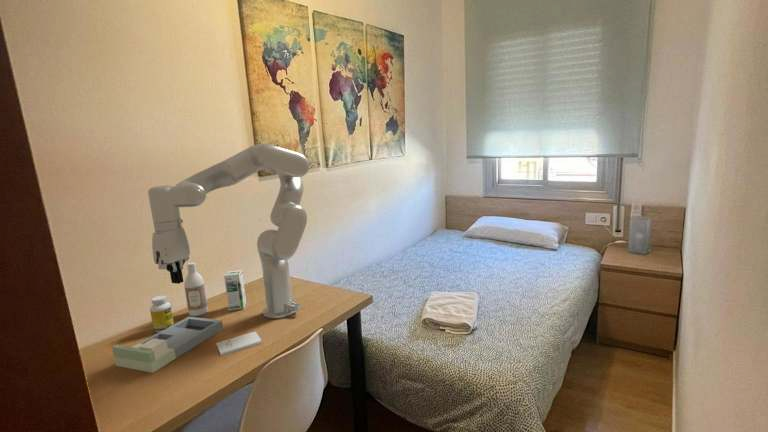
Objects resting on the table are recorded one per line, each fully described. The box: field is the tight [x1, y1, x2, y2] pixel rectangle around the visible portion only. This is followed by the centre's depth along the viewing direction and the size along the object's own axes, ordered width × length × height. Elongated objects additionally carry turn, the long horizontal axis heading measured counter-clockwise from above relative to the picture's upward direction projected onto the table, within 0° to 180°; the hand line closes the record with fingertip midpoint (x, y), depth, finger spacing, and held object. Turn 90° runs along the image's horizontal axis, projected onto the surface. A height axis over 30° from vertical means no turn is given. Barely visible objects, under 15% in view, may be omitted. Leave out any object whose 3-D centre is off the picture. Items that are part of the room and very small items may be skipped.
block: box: [139, 338, 168, 359], centre depth 117 cm, size 5×5×4 cm
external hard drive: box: [215, 331, 262, 357], centre depth 127 cm, size 2×8×12 cm
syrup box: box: [223, 269, 247, 312], centre depth 156 cm, size 6×6×14 cm
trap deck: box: [111, 316, 224, 374], centre depth 128 cm, size 15×28×6 cm, turn 160°
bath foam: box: [183, 262, 209, 317], centre depth 152 cm, size 7×7×20 cm
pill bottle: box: [149, 295, 175, 333], centre depth 141 cm, size 6×6×12 cm
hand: (177, 282), depth 126 cm, fingers closed
